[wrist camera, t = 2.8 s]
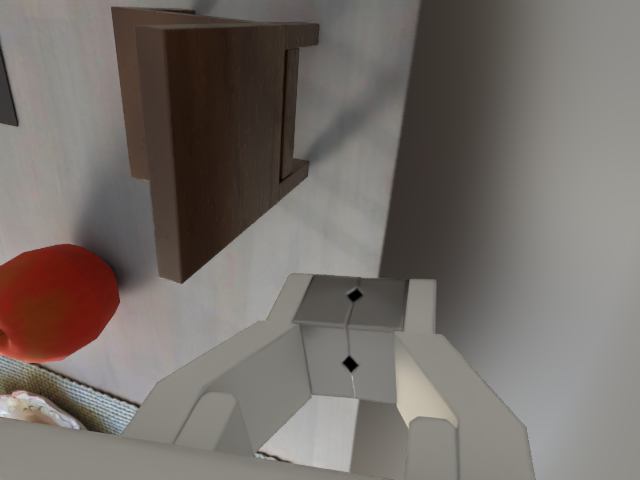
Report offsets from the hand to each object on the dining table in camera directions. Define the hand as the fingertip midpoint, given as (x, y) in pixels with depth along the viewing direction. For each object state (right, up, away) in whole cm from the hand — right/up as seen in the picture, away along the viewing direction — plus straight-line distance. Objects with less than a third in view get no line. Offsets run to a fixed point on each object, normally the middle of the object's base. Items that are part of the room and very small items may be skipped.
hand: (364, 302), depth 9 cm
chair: (-6, +12, +22) cm, 26 cm away
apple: (-23, -2, +36) cm, 43 cm away
